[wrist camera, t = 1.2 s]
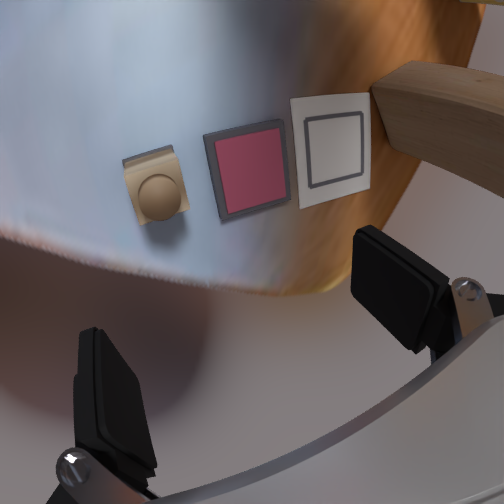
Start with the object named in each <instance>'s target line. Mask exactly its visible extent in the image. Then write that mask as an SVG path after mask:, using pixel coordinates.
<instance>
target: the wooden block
mask: <svg viewBox="0 0 504 504" xmlns="http://www.w3.org/2000/svg"><path fill="white" fill-rule="evenodd" d="M372 93H373V96H374V98H375V101H376V104H377V106H378V109H379V112H380V115H381V118H382V121H383V124H384V127H385V130H386V133H387V136H388V139H389V143H390V145H391V146H392V148H394V149H395V150H397V151H400V152H403V153H405V154H408V155H411V156H413V157H416V158H418V159H421V160H423V161H426V162H428V163H431V164H433V165H435V166H438V167H440V168H443V169H445V170H447V171H449V172H451V173H454V174H456V175H458V176H460V177H462V178H464V179H467V180H469V181H471V182H473V183H475V184H477V185H479V186H481V187H483V188H485V189H487V190H489V191H491V192H493V193H495V194H497V195H498V196H500V197H502V198H504V76H500V75H496V74H492V73H488V72H483V71H479V70H474V69H469V68H463V67H457V66H451V65H445V64H437V63H429V62H420V61H410V62H408V63H407V64H405V65H403V66H402V67H400V68H398V69H396V70H395V71H393V72H391V73H390V74H388V75H387V76H385V77H383V78H382V79H380V80H378V81H377V82H375V83H374V84H373V85H372Z"/></svg>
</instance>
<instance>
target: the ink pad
mask: <svg viewBox="0 0 504 504" xmlns="http://www.w3.org/2000/svg"><path fill="white" fill-rule="evenodd" d="M203 138H204V143H205V148H206V153H207V158H208V163H209V168H210V173H211V178H212V183H213V188H214V193H215V197H216V202H217V207H218V212H219V216H220V218H221V219H222V221H223V220H226V219H229V218H232V217H235V216H239V215H242V214H245V213H248V212H252V211H255V210H258V209H262V208H265V207H268V206H272V205H275V204H278V203H282V202H285V201H288V200H291V194H290V182H289V171H288V161H287V150H286V140H285V131H284V122H283V120H281V119H276V120H270V121H265V122H260V123H255V124H250V125H245V126H240V127H235V128H231V129H226V130H222V131H217V132H213V133H209V134H205V135H203Z"/></svg>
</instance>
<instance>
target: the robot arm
mask: <svg viewBox="0 0 504 504" xmlns="http://www.w3.org/2000/svg"><path fill="white" fill-rule="evenodd" d="M449 279H450V278H448V277H447V276H446V275H444V274H443V273H441V272H440V271H439V270H437V269H436V268H435V267H433V266H432V265H431V264H429V263H427V262H426V261H425V260H423V259H422V258H420V257H419V256H417V255H416V254H415V253H413V252H412V251H410V250H409V249H407V248H406V247H404V246H403V245H401V244H400V243H398V242H397V241H395V240H394V239H392V238H391V237H389V236H388V235H386V234H385V233H383V232H382V231H380V230H379V229H377V228H375V227H374V226H372V225H367V226H365V227H362V228H360V229H358V230H356V232H355V235H354V236H353V252H352V273H351V293H352V295H353V297H354V298H355V299H356V300H357V301H358V302H359V303H360V304H362V306H364V307H365V308H366V309H367V310H368V311H369V312H370V313H371V314H372V315H373V316H374V317H375V318H376V319H377V320H378V321H379V322H380V323H381V324H382V325H383V326H384V327H385V328H386V329H387V330H388V331H389V332H390V333H391V334H392V335H393V336H394V337H395V338H396V339H397V340H398V341H399V342H400V343H401V344H402V345H403V346H404V347H405V348H407V349H408V350H412V351H413V352H414V353H415V354H417V353H419V352H420V351H421V350H423V349H424V348H425V347H426V345H427V346H428V347H429V348H430V355H431V366H429V367H428V368H427V369H425V370H424V371H423V372H422V373H420V374H419V375H418V376H416V377H415V378H414V379H412V380H411V381H410V382H408V383H407V384H406V385H404V386H403V387H401V388H400V389H399V390H397V391H396V392H394V393H393V394H391V395H390V396H388V397H387V398H386V399H384V400H383V401H381V402H380V403H378V404H377V405H375V406H373V407H372V408H370V409H369V410H367V411H365V412H364V413H362V414H361V415H359V416H357V417H356V418H354V419H353V420H351V421H349V422H347V423H346V424H344V425H342V426H340V427H338V428H337V429H335V430H333V431H331V432H329V433H328V434H326V435H324V436H322V437H320V438H318V439H316V440H314V441H312V442H310V443H308V444H307V445H305V446H302V447H301V448H298V449H296V450H294V451H292V452H290V453H288V454H285V455H283V456H281V457H279V458H277V459H274V460H272V461H269V462H267V463H264V464H262V465H260V466H257V467H255V468H252V469H249V470H247V471H244V472H241V473H239V474H236V475H233V476H230V477H227V478H224V479H222V480H219V481H216V482H213V483H210V484H207V485H203V486H200V487H197V488H194V489H190V490H187V491H183V492H180V493H175V494H172V495H169V496H165V497H160V496H159V495H157V494H156V493H154V492H153V491H152V490H150V489H149V488H147V487H148V482H147V479H146V478H150V477H154V476H156V475H155V471H154V468H157V461H156V457H155V454H154V450H153V446H152V442H151V438H150V433H149V429H148V425H147V420H146V416H145V410H144V406H143V400H142V395H141V390H140V385H139V381H138V379H137V377H136V375H135V374H134V372H133V371H132V370H131V368H130V367H129V366H128V365H127V363H126V362H125V360H124V359H123V358H122V356H121V355H120V353H119V352H118V351H117V349H116V348H115V346H114V345H113V343H112V342H111V340H110V339H109V337H108V336H107V334H106V333H105V332H104V330H103V329H100V330H98V328H96V327H92V328H89V329H86V330H84V331H81V332H80V334H79V349H78V374H76V375H75V377H74V386H73V387H74V388H73V391H74V392H73V397H74V398H73V403H74V433H75V448H70V449H67V450H65V451H64V452H63V453H62V454H61V455H60V457H59V458H58V460H57V464H56V474H57V478H58V480H59V482H60V484H59V485H58V487H57V488H56V490H55V491H54V492H53V494H52V495H51V497H50V498H49V500H48V501H47V503H46V504H504V295H500V294H489V293H486V292H485V290H484V288H483V286H482V285H481V284H480V283H479V282H477V281H476V280H474V279H471V278H467V277H461V278H457V279H455V280H454V281H453V282H452V285H451V286H450V285H449V284H448V282H449Z"/></svg>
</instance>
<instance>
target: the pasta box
mask: <svg viewBox="0 0 504 504" xmlns="http://www.w3.org/2000/svg"><path fill="white" fill-rule="evenodd" d="M459 1H460V2H466V3H481V4H492V5H500V6H504V0H459Z"/></svg>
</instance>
